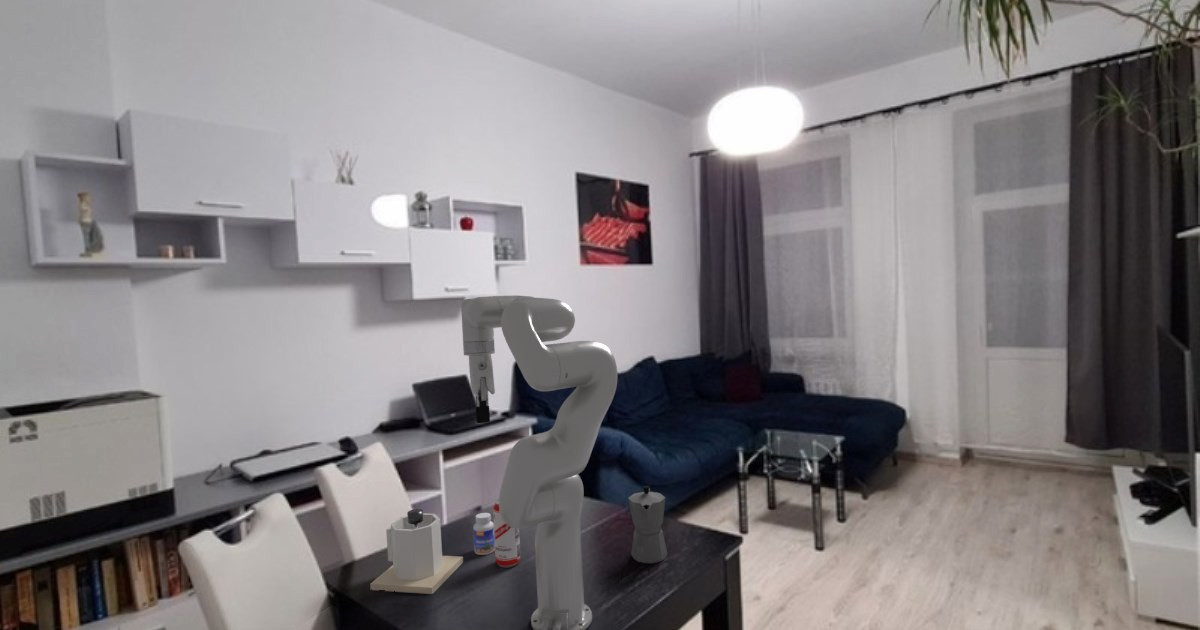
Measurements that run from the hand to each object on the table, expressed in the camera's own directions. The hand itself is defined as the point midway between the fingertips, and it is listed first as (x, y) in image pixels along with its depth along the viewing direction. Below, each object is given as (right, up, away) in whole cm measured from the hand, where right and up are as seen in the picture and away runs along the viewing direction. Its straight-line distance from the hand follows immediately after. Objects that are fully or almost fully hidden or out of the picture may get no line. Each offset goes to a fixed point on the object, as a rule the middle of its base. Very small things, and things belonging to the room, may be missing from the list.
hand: (483, 421), depth 144 cm
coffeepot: (+42, -35, +6) cm, 55 cm away
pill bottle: (-2, -37, +12) cm, 39 cm away
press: (-16, -38, 0) cm, 41 cm away
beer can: (+6, -37, +4) cm, 38 cm away
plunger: (-16, -36, 0) cm, 39 cm away
